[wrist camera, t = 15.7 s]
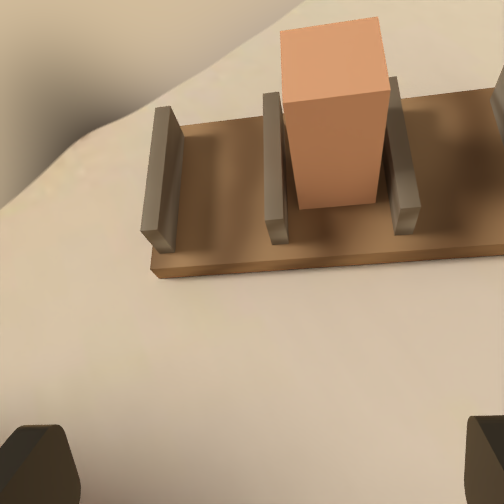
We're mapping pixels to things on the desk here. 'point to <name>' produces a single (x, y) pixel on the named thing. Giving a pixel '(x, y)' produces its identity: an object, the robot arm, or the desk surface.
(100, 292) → the desk surface
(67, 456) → the robot arm
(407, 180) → the walnut rack
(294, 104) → the terracotta block
